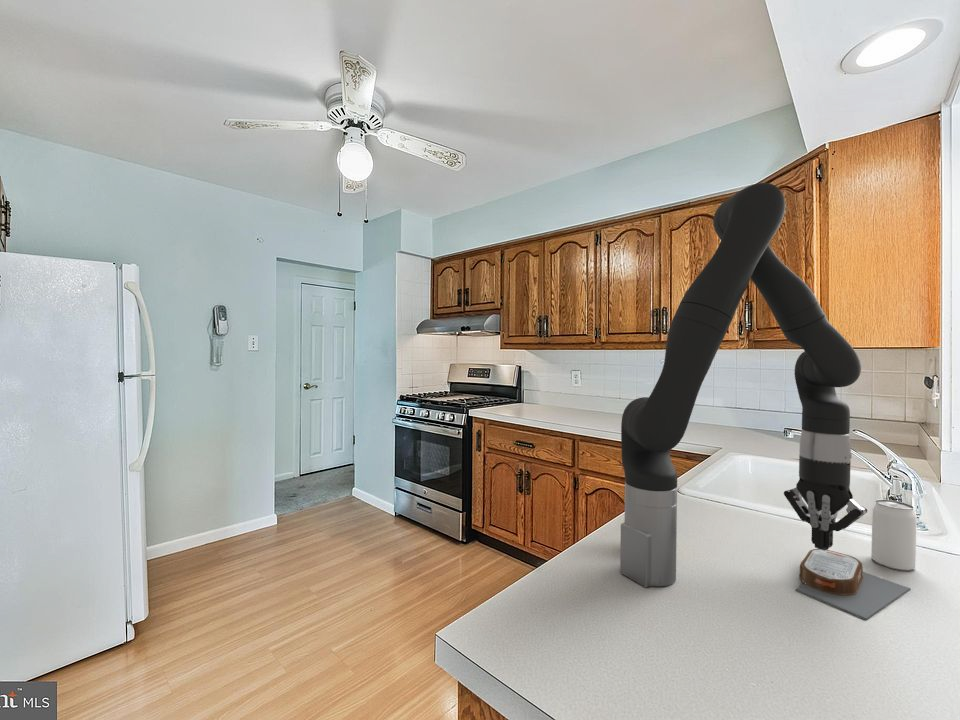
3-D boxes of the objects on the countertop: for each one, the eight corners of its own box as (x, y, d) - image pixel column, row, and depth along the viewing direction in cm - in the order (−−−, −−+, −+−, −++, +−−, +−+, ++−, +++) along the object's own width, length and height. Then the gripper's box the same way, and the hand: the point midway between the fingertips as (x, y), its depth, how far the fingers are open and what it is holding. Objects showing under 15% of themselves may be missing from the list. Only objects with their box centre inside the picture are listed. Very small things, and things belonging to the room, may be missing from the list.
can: (906, 560, 90) (908, 501, 90) (922, 574, 84) (923, 511, 84) (866, 553, 93) (867, 496, 93) (878, 567, 87) (879, 506, 87)
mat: (866, 620, 70) (866, 618, 70) (795, 590, 79) (795, 588, 79) (910, 589, 79) (910, 588, 79) (842, 565, 88) (842, 564, 88)
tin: (794, 582, 81) (854, 604, 75) (796, 565, 80) (856, 586, 74) (811, 556, 91) (865, 574, 85) (812, 541, 91) (867, 558, 85)
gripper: (775, 450, 86) (773, 539, 87) (859, 466, 75) (856, 568, 75) (795, 446, 90) (793, 531, 90) (878, 461, 79) (875, 558, 79)
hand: (822, 548), depth 83 cm, fingers closed
